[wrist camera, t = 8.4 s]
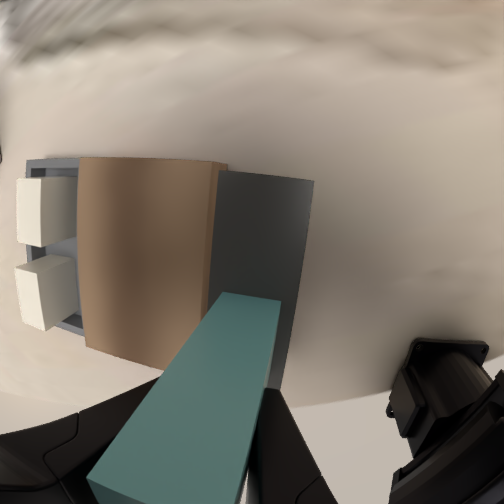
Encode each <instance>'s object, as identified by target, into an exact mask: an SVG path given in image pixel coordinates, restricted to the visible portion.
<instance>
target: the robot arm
mask: <svg viewBox="0 0 504 504" xmlns="http://www.w3.org/2000/svg"><path fill="white" fill-rule="evenodd" d="M418 345H421V347H420V348H417V346H418ZM483 348H484V349H483ZM482 349H483V350H482ZM481 350H482V351H481ZM488 351H489V346H488V345H487V344H486V343H485V342H473V341H453V340H437V339H423V338H419V339H416V340H414V341H413V343H412V345H411V347H410V350H409V353H408V356H407V359H406V362H405V364H404V367H403V368H402V369H401V370H400V371H399V374H398V376H397V379H396V381H395V384H394V387H393V389H392V391H391V394H390V396H389V400H390V402H389V404H388V406H387V409H386V414H387V416H388V417H389V418H395V419H396V422H397V426H398V429H399V433H400V436H401V437H402V438H407V439H408V443H409V446H410V449H411V453H412V456H413V460H412V461H411V462H410V463H408V464H407V465H406V466H404V467H403V468H400V469H398V470H397V471H396V472H395V473H394V474H393V480H392V487H391V492H390V496H389V503H388V504H504V371H503V370H502V369H501V370H500V371H499V372H498V374H497V375H496V376H495V380H494V381H493V380H492V379H491V377H490V376H489V375H488V373H487V372H486V371H485V370H484V368H483V367H482V365H483V363H484V360H485V358H486V356H487V353H488ZM159 378H160V377H158V378H156V379H153V380H151V381H149V382H147V383H145V384H143V385H140V386H138V387H136V388H134V389H131V390H129V391H127V392H125V393H122V394H120V395H118V396H115V397H113V398H111V399H108V400H106V401H104V402H101V403H99V404H97V405H94V406H92V407H89V408H87V409H84V410H82V411H80V412H79V413H74V414H72V415H69V416H67V417H64V418H61V419H58V420H55V421H52V422H50V423H46V424H43V425H39V426H36V427H32V428H28V429H23V430H19V431H15V432H10V433H6V434H1V435H0V504H99V503H98V501H97V499H96V497H95V495H94V493H93V491H92V489H91V487H90V485H89V483H88V481H87V478H86V477H87V476H88V474H89V473H90V471H91V470H92V469H93V467H94V466H95V465H96V463H97V462H98V461H99V459H100V458H101V456H102V455H103V454H104V452H105V451H106V450H107V448H108V447H109V446H110V444H111V443H112V442H113V440H114V439H115V437H116V436H117V435H118V433H119V432H120V431H121V429H122V428H123V427H124V425H125V424H126V422H127V421H128V420H129V418H130V417H131V416H132V414H133V413H134V412H135V410H136V409H137V408H138V406H139V405H140V403H141V402H142V401H143V399H144V398H145V397H146V395H147V394H148V393H149V391H150V390H151V388H152V387H153V386H154V384H155V383H156V382H157V380H158V379H159ZM391 411H393V412H391ZM246 504H338V503H337V501H336V499H335V498H334V496H333V494H332V492H331V491H330V489H329V487H328V485H327V483H326V481H325V479H324V478H323V476H321V472H320V470H319V468H318V466H317V464H316V462H315V460H314V458H313V456H312V454H311V452H310V450H309V448H308V446H307V445H306V442H305V441H304V438H303V436H302V434H301V432H300V430H299V429H298V426H297V424H296V422H295V420H294V418H293V416H292V414H291V412H290V410H289V408H288V406H287V404H286V402H285V400H284V398H283V396H282V394H281V392H280V390H279V389H274V388H267V387H266V388H265V389H264V394H263V398H262V402H261V406H260V410H259V414H258V419H257V424H256V430H255V435H254V441H253V446H252V452H251V457H250V462H249V468H248V481H247V494H246Z"/></svg>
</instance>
